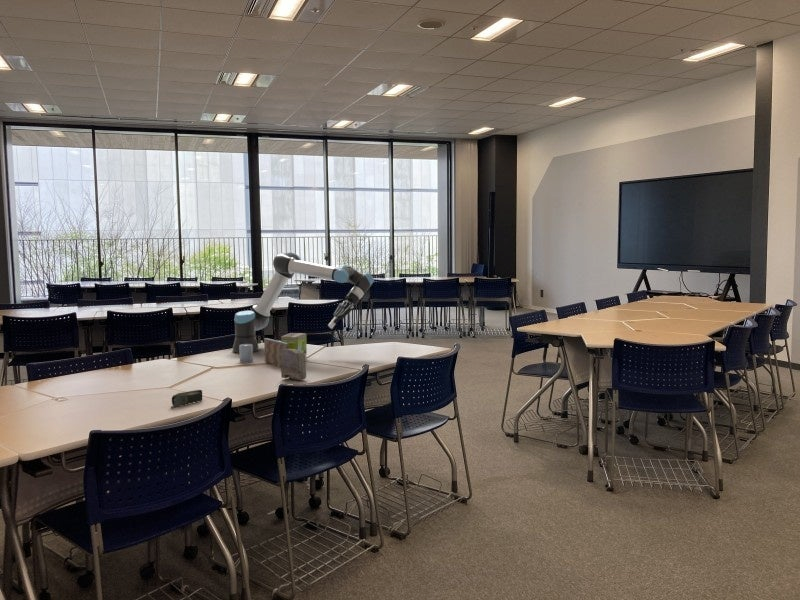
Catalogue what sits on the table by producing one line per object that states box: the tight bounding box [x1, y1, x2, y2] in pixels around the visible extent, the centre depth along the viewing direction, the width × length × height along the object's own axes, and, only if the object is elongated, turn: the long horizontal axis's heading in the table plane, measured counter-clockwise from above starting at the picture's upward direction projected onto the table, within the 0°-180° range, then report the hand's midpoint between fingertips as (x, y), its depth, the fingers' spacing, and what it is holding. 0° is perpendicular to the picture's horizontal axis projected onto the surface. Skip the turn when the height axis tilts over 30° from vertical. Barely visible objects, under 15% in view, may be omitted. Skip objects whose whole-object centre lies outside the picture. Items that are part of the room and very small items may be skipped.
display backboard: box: [263, 337, 289, 367], centre depth 329 cm, size 24×2×13 cm, turn 39°
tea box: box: [280, 332, 308, 361], centre depth 338 cm, size 15×10×15 cm
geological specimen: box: [280, 349, 307, 381], centre depth 292 cm, size 11×6×15 cm, turn 61°
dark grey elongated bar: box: [170, 389, 203, 409], centre depth 251 cm, size 5×3×15 cm
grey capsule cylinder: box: [239, 344, 254, 363], centre depth 340 cm, size 7×7×9 cm
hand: (329, 326), depth 351 cm, fingers closed
